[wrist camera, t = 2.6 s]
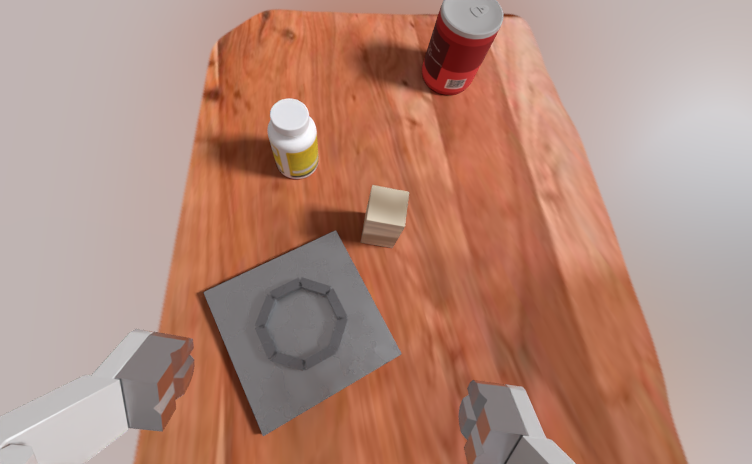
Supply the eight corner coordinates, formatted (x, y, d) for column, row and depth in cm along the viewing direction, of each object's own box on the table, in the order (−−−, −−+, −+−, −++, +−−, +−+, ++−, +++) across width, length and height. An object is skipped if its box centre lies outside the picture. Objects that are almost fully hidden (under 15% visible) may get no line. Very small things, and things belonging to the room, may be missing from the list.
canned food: (481, 76, 55) (515, 12, 45) (449, 106, 53) (478, 45, 42) (443, 46, 56) (468, -23, 46) (410, 74, 54) (429, 7, 43)
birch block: (392, 248, 45) (404, 226, 37) (360, 242, 44) (366, 219, 37) (396, 218, 46) (409, 191, 38) (365, 212, 46) (372, 185, 38)
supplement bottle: (325, 154, 48) (324, 106, 38) (306, 187, 46) (300, 145, 37) (289, 136, 48) (279, 85, 39) (268, 169, 46) (252, 122, 37)
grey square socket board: (399, 354, 41) (404, 354, 38) (265, 433, 37) (260, 439, 34) (335, 233, 44) (336, 226, 42) (206, 293, 40) (198, 289, 38)
